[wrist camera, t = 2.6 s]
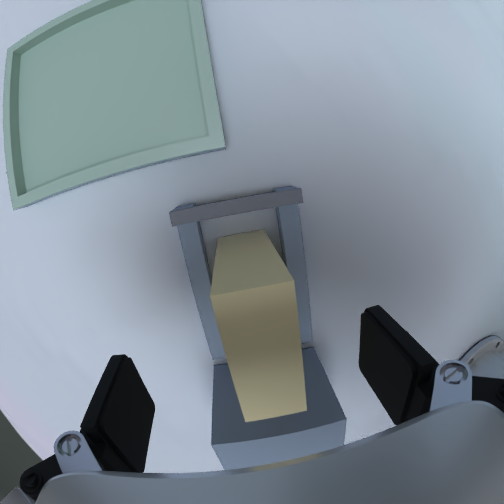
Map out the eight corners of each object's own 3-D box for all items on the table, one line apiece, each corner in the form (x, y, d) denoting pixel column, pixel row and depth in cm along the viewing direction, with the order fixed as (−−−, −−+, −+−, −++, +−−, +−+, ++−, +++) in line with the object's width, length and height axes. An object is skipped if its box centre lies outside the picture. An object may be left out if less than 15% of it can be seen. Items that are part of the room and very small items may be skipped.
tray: (197, -18, 13) (195, -31, 11) (225, 149, 17) (225, 146, 15) (19, 53, 12) (7, 48, 11) (26, 206, 16) (13, 210, 15)
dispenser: (295, 185, 18) (343, 196, 10) (316, 396, 23) (341, 463, 16) (172, 207, 18) (133, 235, 10) (229, 412, 23) (233, 484, 15)
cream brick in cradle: (263, 229, 19) (294, 280, 10) (278, 321, 21) (306, 410, 12) (218, 237, 19) (209, 296, 10) (237, 329, 21) (245, 422, 12)
